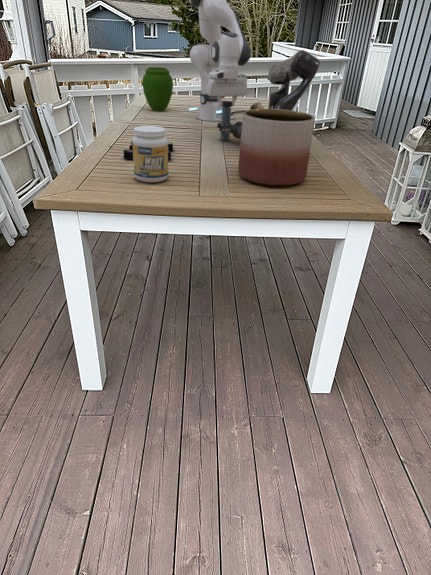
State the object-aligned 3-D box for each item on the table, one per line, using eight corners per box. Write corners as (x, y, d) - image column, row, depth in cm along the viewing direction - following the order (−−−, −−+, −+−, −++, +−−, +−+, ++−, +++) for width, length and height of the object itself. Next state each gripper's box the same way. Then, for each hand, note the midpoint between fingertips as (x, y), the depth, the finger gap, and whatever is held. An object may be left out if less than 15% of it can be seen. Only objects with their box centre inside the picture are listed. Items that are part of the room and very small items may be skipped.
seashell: (262, 114, 271) (264, 101, 267) (264, 116, 267) (266, 102, 262) (248, 114, 270) (249, 101, 266) (250, 115, 265) (251, 102, 261)
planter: (315, 188, 145) (327, 122, 133) (246, 188, 141) (252, 121, 129) (292, 167, 166) (301, 109, 155) (231, 167, 162) (235, 107, 150)
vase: (143, 107, 275) (142, 66, 262) (173, 108, 277) (172, 67, 264) (142, 112, 259) (140, 68, 246) (173, 113, 261) (173, 70, 248)
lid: (229, 105, 198) (229, 100, 197) (233, 106, 194) (233, 102, 193) (219, 105, 196) (220, 100, 195) (223, 107, 193) (224, 102, 191)
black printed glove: (122, 152, 163) (135, 135, 189) (122, 159, 165) (135, 142, 190) (169, 154, 164) (176, 137, 189) (170, 161, 165) (176, 144, 191)
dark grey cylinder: (219, 138, 205) (221, 102, 196) (228, 139, 206) (230, 102, 197) (220, 141, 202) (222, 104, 192) (229, 141, 202) (232, 104, 193)
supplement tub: (139, 184, 140) (136, 133, 131) (130, 174, 149) (127, 125, 140) (173, 181, 144) (172, 131, 135) (162, 172, 153) (161, 124, 144)
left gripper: (243, 73, 195) (241, 104, 202) (205, 73, 186) (204, 105, 193) (250, 74, 190) (248, 106, 197) (212, 74, 181) (211, 108, 189)
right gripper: (256, 121, 192) (233, 115, 204) (232, 124, 185) (210, 117, 196) (255, 138, 196) (232, 131, 208) (231, 141, 189) (210, 134, 200)
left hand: (226, 106), depth 195 cm, fingers closed on lid, 5 cm apart
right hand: (222, 124), depth 202 cm, fingers closed on dark grey cylinder, 4 cm apart
